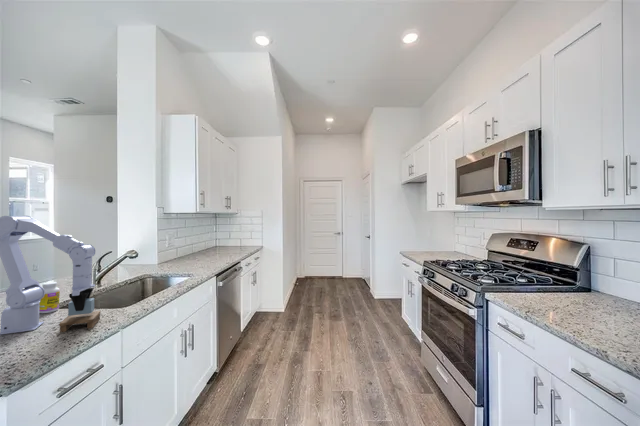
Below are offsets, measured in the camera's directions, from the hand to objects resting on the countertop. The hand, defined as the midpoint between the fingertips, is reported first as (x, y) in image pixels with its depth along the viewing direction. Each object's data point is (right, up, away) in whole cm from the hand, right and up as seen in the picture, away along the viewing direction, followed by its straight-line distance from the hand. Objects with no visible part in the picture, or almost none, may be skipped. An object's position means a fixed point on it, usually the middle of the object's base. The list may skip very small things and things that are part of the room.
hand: (81, 308), depth 107 cm
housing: (0, -2, 0) cm, 2 cm away
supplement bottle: (-28, -6, +14) cm, 32 cm away
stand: (0, -7, 0) cm, 7 cm away
